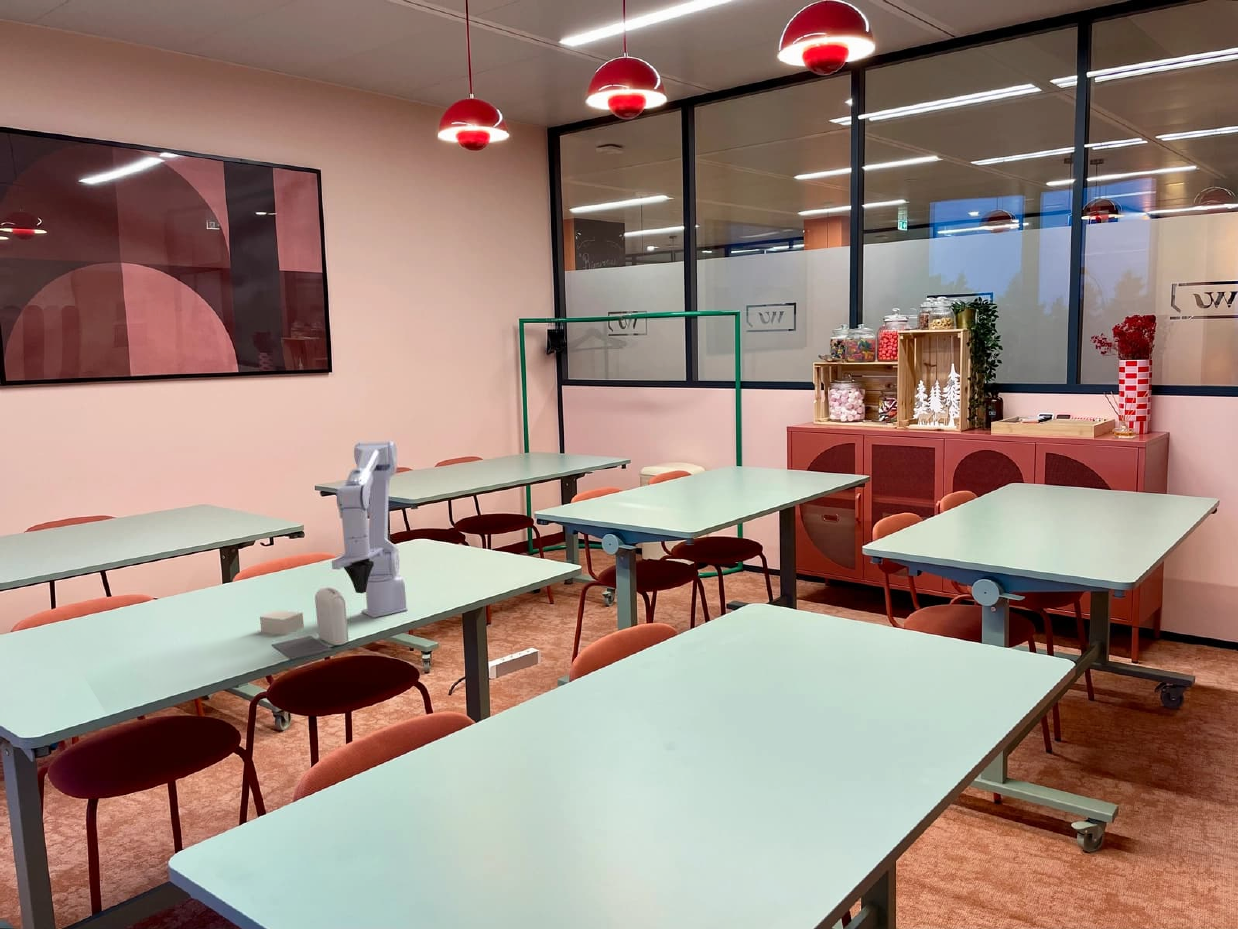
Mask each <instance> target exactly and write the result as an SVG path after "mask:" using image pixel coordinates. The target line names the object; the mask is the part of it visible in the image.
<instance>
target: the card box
mask: <svg viewBox="0 0 1238 929" xmlns="http://www.w3.org/2000/svg"><path fill="white" fill-rule="evenodd" d="M259 620H260V631H261V633H268V634H275V635H283V636H285V635H288V634H289V635H290V634H291V633H293V632H294V633H295V632H296V631H298V630H301V629H304V628H305V624H304V615H303V612H299V611H298V612H297V611H291V610H282V609H278V610H276V611H275V610H274V611H272V612H270V613H266V614H263V615H260V616H259Z"/></svg>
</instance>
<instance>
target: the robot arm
mask: <svg viewBox="0 0 1238 929" xmlns="http://www.w3.org/2000/svg"><path fill="white" fill-rule="evenodd" d="M353 454H354V455H353V457H354V462H355V464H356V467H354V468H353V469H352V470H351V471H350V473H349V475H348V476H347V478H346V482H345V484H344V485H341V487H340V488H338V489H337V491H336V504H337V509H338V511H339V512H338V513H339V518H340V519H341V522H342V523H341V524H342V533H343V534H342V536H343V544H344V545H343V546H344V553H343V554H342V556H340V557H338V558H336V559H334V560H331V568H332V570H337V571H338V570H341V569H342V568H343V569H344V570H345V572H346V573H347V575H348V576H349V579H350V580H351V583H352V586H353V587H354V591H355V593H357V594H365V599H366V600H365V601H366V608H364V609H361V612H362V613H363V614H365V615H368V616H369V617H371V618H378V617H383V616H387V615H390V614H396V613H400V612H404V611H408V610H409V608H408V607H407V599H406V598H407V597H406V596H407V595H406V594H407V593H406V586H405V581H404V578H403V577H402V576H401V575H400V574H399V573H400V572H399V571H400V557H399V549H398V547H397V545H395V544H394V543H392V542H391V541H390V540H389V539H388V534H389V530H388V529H389V528H388V527H389V497H390V496H389V495H390V494H389V490H390V489H389V488H390V480H391V478H392V477H393V476H395V475H396V474H397V468H398V465H397V464H398V453H397V446H396V443H395V442H394V441H393V440H389V441H372V442H371V441H370V442H368V441H367V442H356V444H355V445H354V449H353ZM368 508H369V513H368V511H367V510H368ZM368 514H369V516H368ZM368 519H369V520H368ZM368 522H369V523H368Z"/></svg>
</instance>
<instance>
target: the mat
mask: <svg viewBox="0 0 1238 929" xmlns="http://www.w3.org/2000/svg"><path fill="white" fill-rule="evenodd" d="M271 646H272V647H273V648H275V649H276V650H277V651H279V652H281V653H282V654H283V655H284V656H286V657H288V658H289V659H290V660H292V661H293V660H297V659H300V658H305V657H309V656H314V655H317V654H321V653H326V652H330V651H333V649H332V648H330V647H329V646H327V645H325V643H322V641H319V640H318V639H316V638H315V637H313V636H312V635H307V636H303V637H299V638H295V639H291V640H286V641H281V642H277V643H273V644H271Z"/></svg>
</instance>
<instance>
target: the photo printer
mask: <svg viewBox="0 0 1238 929" xmlns="http://www.w3.org/2000/svg"><path fill="white" fill-rule="evenodd" d="M315 593H316V594H315V595H314V596H315V597H314V601H315V602H314V604H315V611H316V612H315V613H316V624H317V632H318V633H317V634H318V637H319V639H321V640H322V641H325V643H326V642H327V643H328V644H331V645H335V646H340V645H345V644H347V643H348V642H349V629H348V628H349V627H348V619H347V618H348V617H347V609H346V608H347V606H346V600H345V598H344V596H343V595H342V594H341V592H339V591H338V590H336V589H335V588H332V587H325V588H320V589H319V590H317V591H316V592H315Z"/></svg>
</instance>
